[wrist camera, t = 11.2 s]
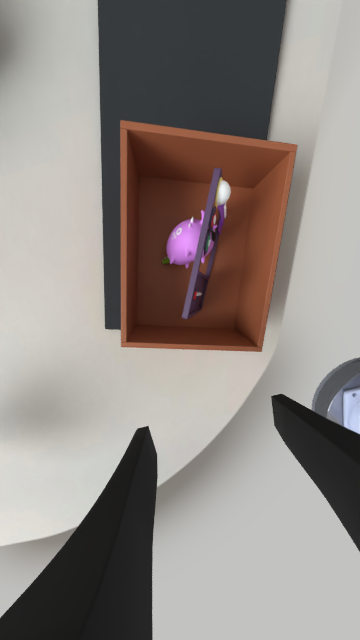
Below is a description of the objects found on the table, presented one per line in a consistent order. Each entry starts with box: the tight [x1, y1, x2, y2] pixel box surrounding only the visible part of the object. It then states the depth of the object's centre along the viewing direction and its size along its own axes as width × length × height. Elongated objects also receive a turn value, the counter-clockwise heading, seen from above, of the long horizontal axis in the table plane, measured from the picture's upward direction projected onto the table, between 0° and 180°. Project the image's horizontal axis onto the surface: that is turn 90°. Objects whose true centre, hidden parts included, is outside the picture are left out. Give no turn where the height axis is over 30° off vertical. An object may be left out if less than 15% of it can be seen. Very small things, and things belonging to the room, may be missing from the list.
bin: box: [120, 120, 297, 352], centre depth 16 cm, size 14×11×6 cm
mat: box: [98, 0, 286, 330], centre depth 14 cm, size 48×14×1 cm, turn 176°
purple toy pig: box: [162, 168, 231, 319], centre depth 15 cm, size 7×5×9 cm
